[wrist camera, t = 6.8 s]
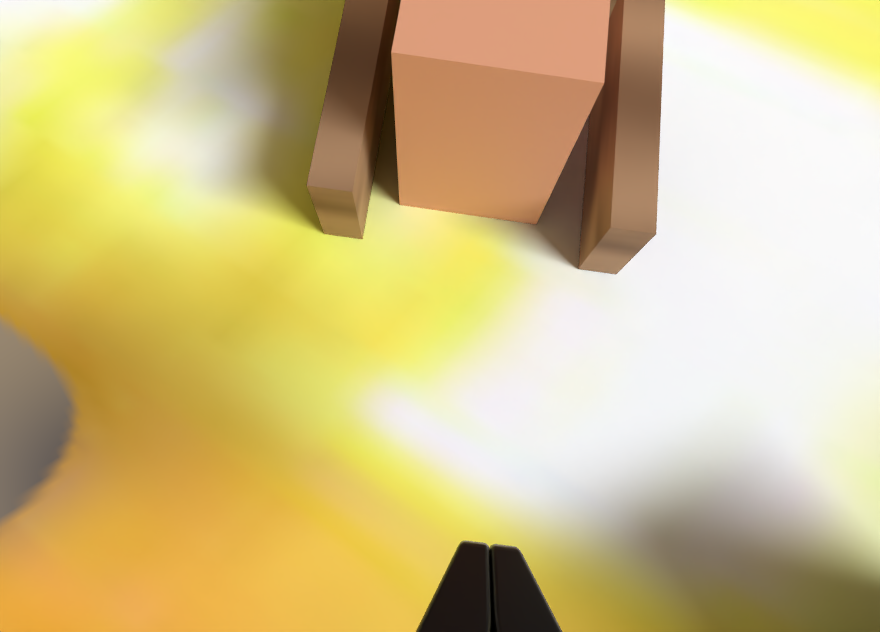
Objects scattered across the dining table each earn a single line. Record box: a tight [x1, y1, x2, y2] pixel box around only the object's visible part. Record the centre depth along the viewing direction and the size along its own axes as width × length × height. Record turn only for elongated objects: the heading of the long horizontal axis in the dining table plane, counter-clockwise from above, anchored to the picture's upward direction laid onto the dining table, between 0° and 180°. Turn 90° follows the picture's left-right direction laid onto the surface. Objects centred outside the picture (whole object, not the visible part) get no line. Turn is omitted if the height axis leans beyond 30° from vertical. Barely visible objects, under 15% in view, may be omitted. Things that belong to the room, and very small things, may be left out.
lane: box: [307, 0, 665, 274], centre depth 23 cm, size 14×12×4 cm
